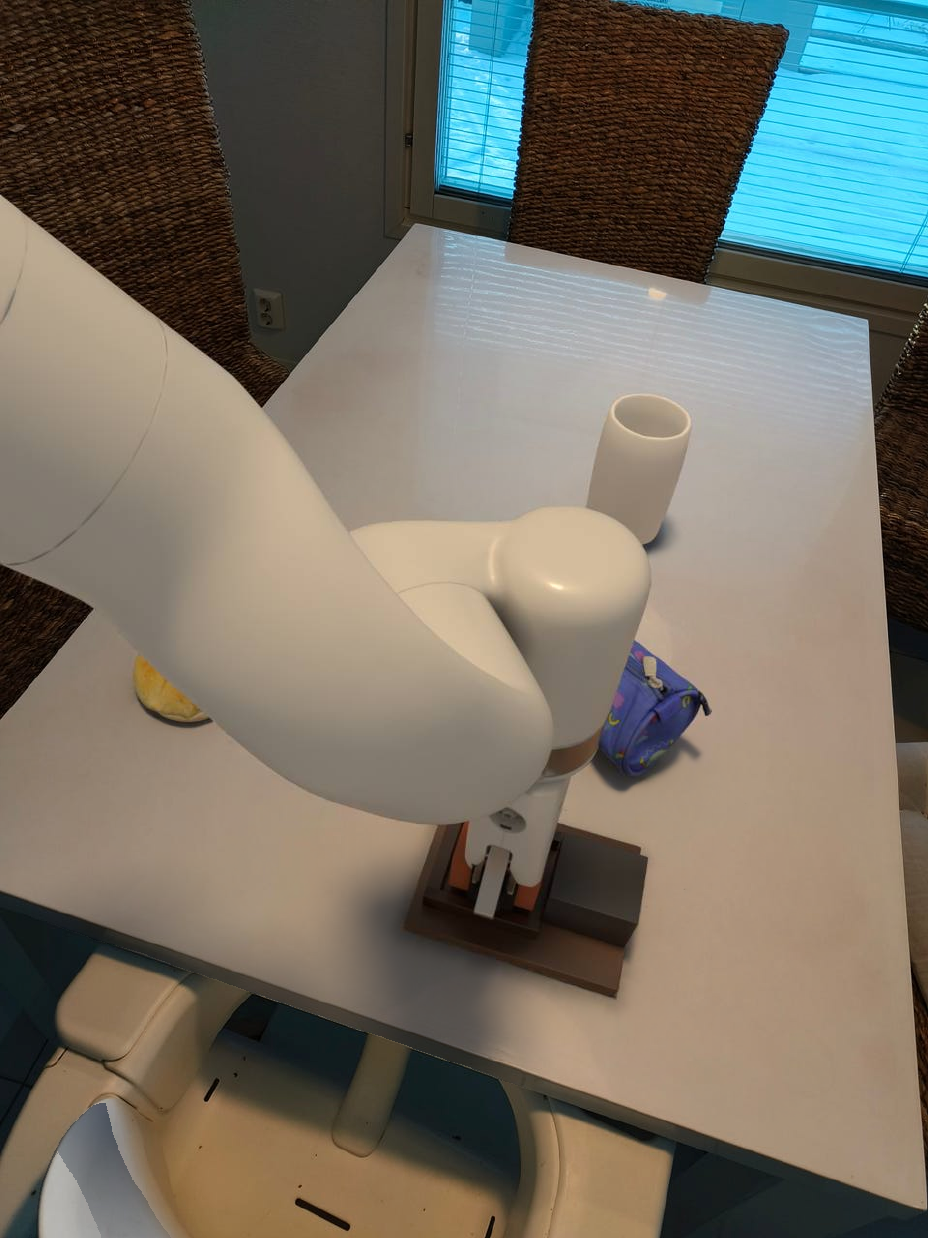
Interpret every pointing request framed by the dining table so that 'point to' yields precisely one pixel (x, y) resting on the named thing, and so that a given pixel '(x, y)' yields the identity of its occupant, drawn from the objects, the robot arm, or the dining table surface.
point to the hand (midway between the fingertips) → (500, 863)
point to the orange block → (463, 871)
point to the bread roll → (163, 694)
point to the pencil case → (648, 712)
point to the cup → (639, 462)
